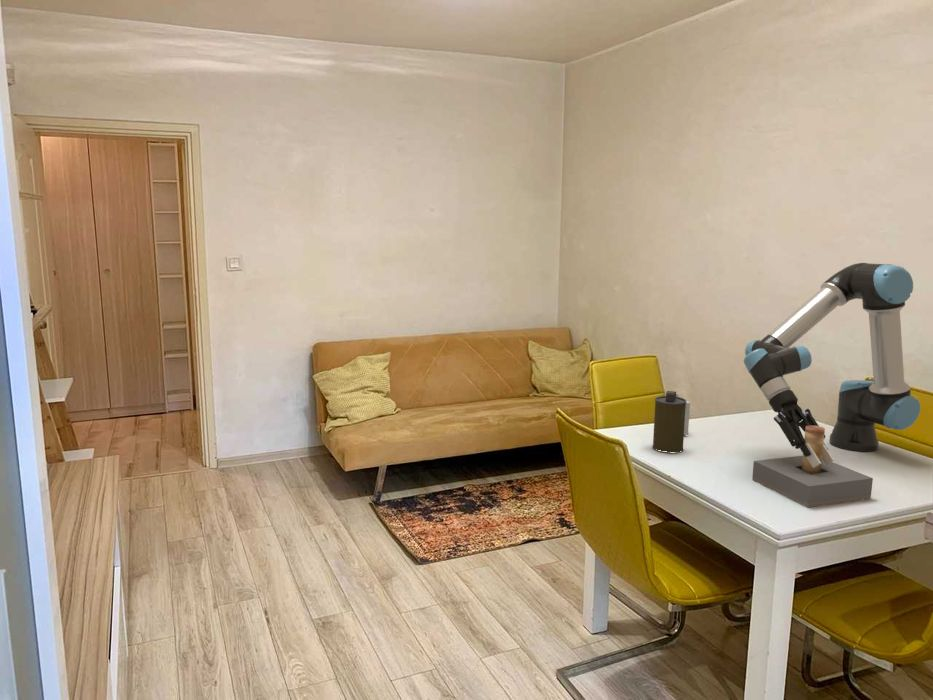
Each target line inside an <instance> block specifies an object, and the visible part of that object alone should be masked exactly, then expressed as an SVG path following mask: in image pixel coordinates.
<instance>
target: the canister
mask: <svg viewBox="0 0 933 700" xmlns="http://www.w3.org/2000/svg"><path fill="white" fill-rule="evenodd" d="M687 401H688V400H687V399H686V398H684V397H680V396H678V394H677V391H675V390H674V391H673V390H667V391H666V393H665V395H661V396H656V397H655V398H654V418H653V420H654V421H653V438H652V440H653V441H652V446H651V447H653V448H654V449H657V450H661V451H667V452H680V451H682V452H683V451H684V450H685V449H683V448H684V439H685V438H684V437H685V436H684V425H685V408H686V402H687ZM653 448H652V449H653ZM654 449H653V450H654ZM680 453H681V452H680Z"/></svg>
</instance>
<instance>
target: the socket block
mask: <svg viewBox="0 0 933 700" xmlns="http://www.w3.org/2000/svg"><path fill="white" fill-rule="evenodd" d="M802 460H803V455H795V456H794V455H793V456H786V457H777V458H767V459H760V460H759V459H758V460H753V466H752V467H753V468H752V479H751V481H754V482H755V481H756V483H757V482H758V483H757V484H759V483H760V485H761V484H762V485H761V486H764V487H766V488H767V489H770V490H771V491H773V490H774V491H773V492H775V491H776V492H775V493H777V492H778V494H779V495H782V496H784V497H786V498H788V499H790V500H792V501H794V502H796V503H798V504H800V505H802V506H804V507H806V508H811V507H818V506H827V505H834V504H840V503H848V502H849V501H850V502H854V501H855V500H857V501H861V499H864V500H869V499H868V498H871V499H872V489H873V481H874V478H873V477H871V476H868V475H866V474H863V473H861V472H859V471H856V470H854V469H851V468H848V467H846V466H843V465H841V464H838V463H836V462H834V461H833V462H831V463H830V464H828V465H826V464H825V462H824V461H823V459H822V464H821V473H816V474H809V473H807V472H805V471H802Z"/></svg>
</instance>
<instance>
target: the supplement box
mask: <svg viewBox="0 0 933 700" xmlns="http://www.w3.org/2000/svg"><path fill="white" fill-rule="evenodd" d="M690 405H691V402H690V401H688V400H687V402H686V408H685V425H684V435H688V436H689V425H690V424H689V423H690V407H691V406H690Z"/></svg>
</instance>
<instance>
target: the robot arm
mask: <svg viewBox="0 0 933 700" xmlns="http://www.w3.org/2000/svg"><path fill="white" fill-rule="evenodd" d="M913 290H914V281H913V278H912V275H911V273H910V271H908V270H907V269H906V268H904V267H903V266H900V265H896V264H895V265H894V264H889V263H868V262H858V263H853V264H851V265H849V266H846V267H844V268H843V269H841V270H838V271H837V272H836V273H834V274H833V275H832V276H829V278H828V279H826V280H825V281H824V282H823V283H821V285H820V289H819V290H818V291H817V292H816V293H815V294H814V295H813V296H811V297H810V298H809V299H807V301H806V302H804V303H803V304H802V305H801V306H800V307H798V308H797V309H796V310H795V311H793V312H792V313H791V314H790V315H789V316H788V317H787V318H786V319H785V320H784V321H782V322H781V323H780V324H779V325H778V326H776V327H775V328H774V329H773V330H772V331H770V333H768V334H767V335H766V336H764V337H763V338H762V339H761V340H760V339H758V340H751V341H749V342H748V343H747V345H746V346H745V349H744V353H745V354H744V355H745V356H744V358H743V363H744V366H745V368H746V370H747V372H748V373H749V375H750V376H751V377H752V378H753V380H754V382H755V384H756V385H757V386H758V388H759V390H760V391H761V392H762V395H763V396H764V397H765V399H766V400H767V401H768V404H769V405H770V407H771V409H772V410H773V412H775V413H777V415H776V416H774V417H773V421H775V422H776V423H777V425H778V426H779V427H780V429H781V431H782V432H783V434H784V435H785V436H784V437H786V439H787V441H788V442H789V444H790V445H791V446H792V447H794V449H795V450H798V449H799V450H800V451H801V452H802V455H803V454H804V456H805V457H806V458H807V459H808V461H809V462H810V464H811V465H812V467H813V468H815V467H817V466H818V465H820V464H821V462H820V460H819V458H818V457H817V455H816V454H815V452H814V451H813V449H812V448H811V446H810V444H809V443H807V444H805V443H806V442H805V440H804V438H805V436H804V435H803V433H802V431H803V432H804V433H805V427H806V426H808V425H814V426H820V425H819V424H818V422H817V421H816V420H815V417H813V415H812V413H811V410H810V409H809V408H806V409H803V408H802V407H800V406H799V405H798V402H799V400H798V397H797V395H796V394H795V392H794V391H793V390H792V389H791V386H790V385H789V384H788V383H789V382H787V380H786V379H785V377H784V376H786V375H789V374H793V373H797V372H801V371H803V370H805V369H808V368H809V367H811V365H812V361H813V359H812V354H811V352H810V351H809V349H808V348H807V346H804V345H796V346H795V345H794V344H795V343H797V341H799V340H800V339H801V338H802V337H804V335H806V334H807V333H808V332H809V331H810V330H812V328H814V327H815V326H817V325H818V323H820V322H821V321H822V320H823V319H825V317H827V316H828V315H829V314H831V312H833V311H834V310H835V309H836V308H837V307H841V306H844V305H846V304H847V303H848V302H850V301H853V300H856V299H857V300H858V299H859V300H862V301H861V303H862V309H863V310H864V312H867V313H868V323H869V337H870V347H871V348H870V349H871V362H872V363H871V364H872V376H873V380H869V379H868V380H864V379H862V380H861V379H856V380H855V379H853V380H852V379H851V380H845V381H842V382H841V385H840V388H839V392H838V393H839V394H838V402H837V405H838V406H837V417H836V418H837V419H836V423H835V425H834V427H833V429H832V431H831V433H830V435H829V438H828V439H829V444H830V445H832V446H834V447H837V448H840V449H844V450H848V451H856V452H875V451H877V450H879V444H880V443H879V440H878V437H877V430H876V425H877V424H878V425H880V426H883V427H885V428H887V429H893V430H896V431H900V430H901V431H902V430H906V429H908V428H910V427H912V426H913V424H914V423H915V422H916V420H917V419H918V418H919V416H920V412H921V403H920V401H919V400H918V399H917V398H916V397H914V396H912V393H911V386H910V384H908V383H906V381H905V369H904V357H903V356H904V354H903V342H902V325H901V324H902V323H901V311H902V309H903V308H905V306H906V302H907V301H908V300H909V299H910V298H911V294H912V293H913ZM793 345H794V346H793ZM791 346H792V347H791ZM801 429H802V430H801ZM825 439H826V435H825V433H824V440H825ZM822 459H823V461H824V462H825V464H826V465H828V464H830V463H831V462H834V461H835V459H834V457H833V456H832V454H831V452H830V451H829V449H828V447H827V445H826V443H825V442H824V443H823V454H822Z"/></svg>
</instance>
